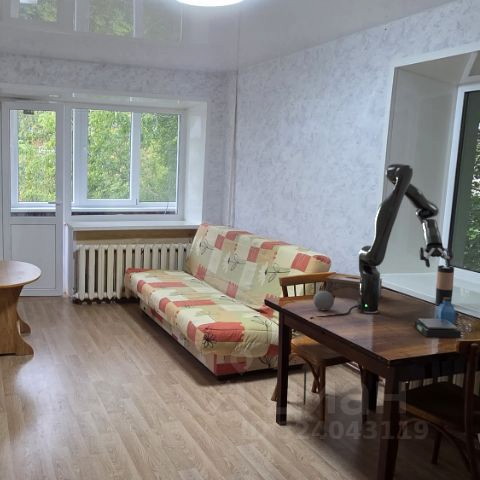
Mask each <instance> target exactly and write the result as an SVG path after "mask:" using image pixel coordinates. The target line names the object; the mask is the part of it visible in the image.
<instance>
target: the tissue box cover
mask: <svg viewBox="0 0 480 480" xmlns="http://www.w3.org/2000/svg"><path fill="white" fill-rule="evenodd" d="M382 283H383V278H381V277H380V289H379V298H381V297H382ZM325 286H326V287H325V291H327V292H329V293H331V295H332V296H333V297H336V298H337V297H338V298H343V299H350V300H357V301H358V292H359V291H360V275H357V274H347V273H340V272H334V273H333V274H330V275H329V276H326V283H325Z"/></svg>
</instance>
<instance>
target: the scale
mask: <svg viewBox="0 0 480 480" xmlns="http://www.w3.org/2000/svg"><path fill="white" fill-rule="evenodd" d="M414 328H415V329H416V330H417V331H419V333H421V334H422V335H423V336H424V337H426V338H451V339H452V338H455V339H457V338H458V339H460V338H461V335H462V331H461V330H460V329H459V328H458V329H428V328H427V327H426V326H425V325H423V324H422V323H421V322H420V321H418V319H415V320H414Z"/></svg>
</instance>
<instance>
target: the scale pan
mask: <svg viewBox="0 0 480 480" xmlns="http://www.w3.org/2000/svg"><path fill="white" fill-rule="evenodd" d="M417 320H418V321H420V322H421V323H422V324H423V325H425V326H426V327H427V328H428V329H459V328H458V327H457V326H456V324H455V325H453V324H452V323H451V322H449V321H448V320H446V319H436V318H417Z"/></svg>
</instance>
